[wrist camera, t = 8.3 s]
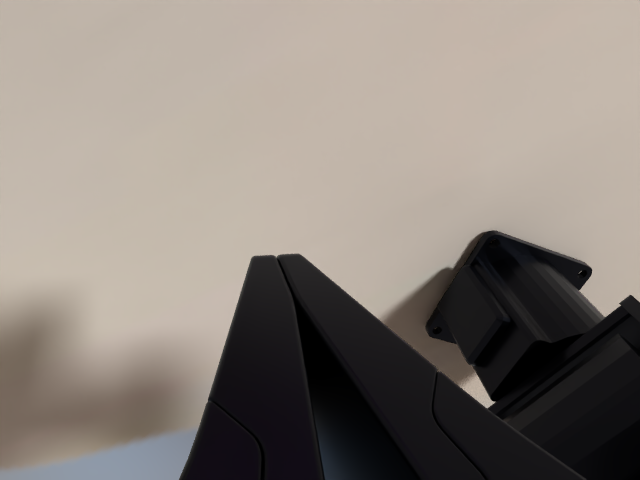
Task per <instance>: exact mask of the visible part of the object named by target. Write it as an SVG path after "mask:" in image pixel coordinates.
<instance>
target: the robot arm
mask: <svg viewBox="0 0 640 480" xmlns="http://www.w3.org/2000/svg"><path fill="white" fill-rule="evenodd" d="M494 239H496V240H495V242H494V243H492V244H489V243H490V242H491V241H492V240H494ZM580 271H582V272H580ZM579 272H580V273H579ZM578 273H579V274H578ZM591 274H592V269H591V267H589V266H588V265H587V264H586V263H585V262H582V261H580V260H577V259H574V258H571V257H568V256H566V255H563V254H560V253H557V252H554V251H552V250H549V249H546V248H543V247H540V246H537V245H535V244H532V243H529V242H526V241H523V240H521V239H518V238H515V237H512V236H509V235H507V234H504V233H501V232H498V231H494V230H492V231H488V232H487V233H485V234H484V235H483V236H482V238H481V239H480V241H479V242H478V244H477V246H476V247H475V249H474V250H473V252H472V253H471V255H470V256H469V258H468V260H467V261H466V263H465V264H464V266H463V267H462V268H461V269H460V271H459V272H458V274H457V276H456V277H455V279H454V280H453V282H452V283H451V285H450V287H449V288H448V290H447V291H446V293H445V294H444V296H443V297H442V299H441V301H440V302H439V304H438V306H437V308H436V310H435V311H434V313H433V314H432V316H431V317H430V319H429V320H428V322H427V324H426V330H427V333H428V334H429V336H430V337H432V338H436V339H440V340H444V341H447V342H451V343H455V344H458V346H459V348H460V350H461V352H462V354H463V356H464V358H465V359H466V361H467V363H468V364H469V365H472V366H473V368H474V369H475V371H476V373H477V375H478V377H479V379H480V380H481V382H482V384H483V386H484V388H485V390H486V391H487V393H488V395H489V397H490V399H491V400H492V401H495V403H494V404H493V405H491V406H490V407H489V408H485V407H484V406H483V405H482V404H480V403H479V402H478V401H477V400H475V399H474V398H473V397H472V396H470V395H469V394H468V393H467V392H465V391H464V390H463V389H462V388H460V387H459V386H458V385H457V384H455V383H454V382H453V381H452V380H451V379H449V378H448V377H447V376H446V375H445V374H444V373H442V372H441V371H439V372H437V368H436V367H435V366H434V365H432V364H431V363H430V362H429V361H428V360H426V359H425V358H424V357H423V356H422V355H420V354H419V353H418V352H417V351H416V350H415V349H413V348H412V347H411V346H410V345H409V344H407V343H406V342H405V341H404V340H403V339H401V338H400V337H399V336H398V335H397V334H395V333H394V332H393V331H392V330H391V329H389V328H388V327H387V326H386V325H385V324H383V323H382V322H381V321H380V320H379V319H377V318H376V317H375V316H374V315H373V314H371V313H370V312H369V311H368V310H367V309H365V308H364V307H363V306H362V305H361V304H359V303H358V302H357V301H356V300H355V299H353V298H352V297H351V296H350V295H349V294H347V293H346V292H345V291H344V290H343V289H341V288H340V287H339V286H338V285H337V284H336V283H334V282H333V281H332V280H331V279H330V278H328V277H327V276H326V275H325V274H324V273H322V272H321V271H320V270H319V269H318V268H316V267H315V266H314V265H313V264H312V263H310V262H309V261H308V260H307V259H306V258H304V257H303V256H302V255H300V254H282V255H278V256H277V257H275V256H273V255H263V256H254V257H252V258H251V261H250V264H249V267H248V271H247V274H246V277H245V281H244V284H243V287H242V290H241V294H240V297H239V300H238V303H237V307H236V310H235V313H234V316H233V320H232V323H231V326H230V329H229V333H228V336H227V339H226V342H225V346H224V349H223V352H222V355H221V359H220V362H219V365H218V369H217V372H216V375H215V378H214V382H213V385H212V388H211V391H210V395H209V398H208V403H207V404H206V406H205V410H204V413H203V416H202V420H201V423H200V426H199V429H198V432H197V434H196V437H195V440H194V443H193V446H192V449H191V452H190V454H189V457H188V460H187V462H186V464H185V467H184V469H183V472H182V474H181V476H180V478H179V480H640V302H639V301H638V300H636V299H635V298H634V297H633V296H632V295H630V296H628V297H627V298H626V299H624V300H623V301H622V302H621V303H619V304H620V305H621V306H620V307H618V308H617V309H616V310H614V311H613V312H612V313H611V314H609V315H608V316H607V317H604V316H603V315H602V314H601V313H600V312H599V311H598V310H597V309H596V308H595V307H594V306H593V305H592V304H591V303H590V302H589V301H588V299H587V298H586V297H585V296H584V295H583V294H582V293H581V292H580V291H579V290H580V289H581V288H582V286H583V285H584V284H585V283H586V281H587V280H588V279H589V277H590V276H591ZM435 327H438V328H437V329H434V328H435Z"/></svg>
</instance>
